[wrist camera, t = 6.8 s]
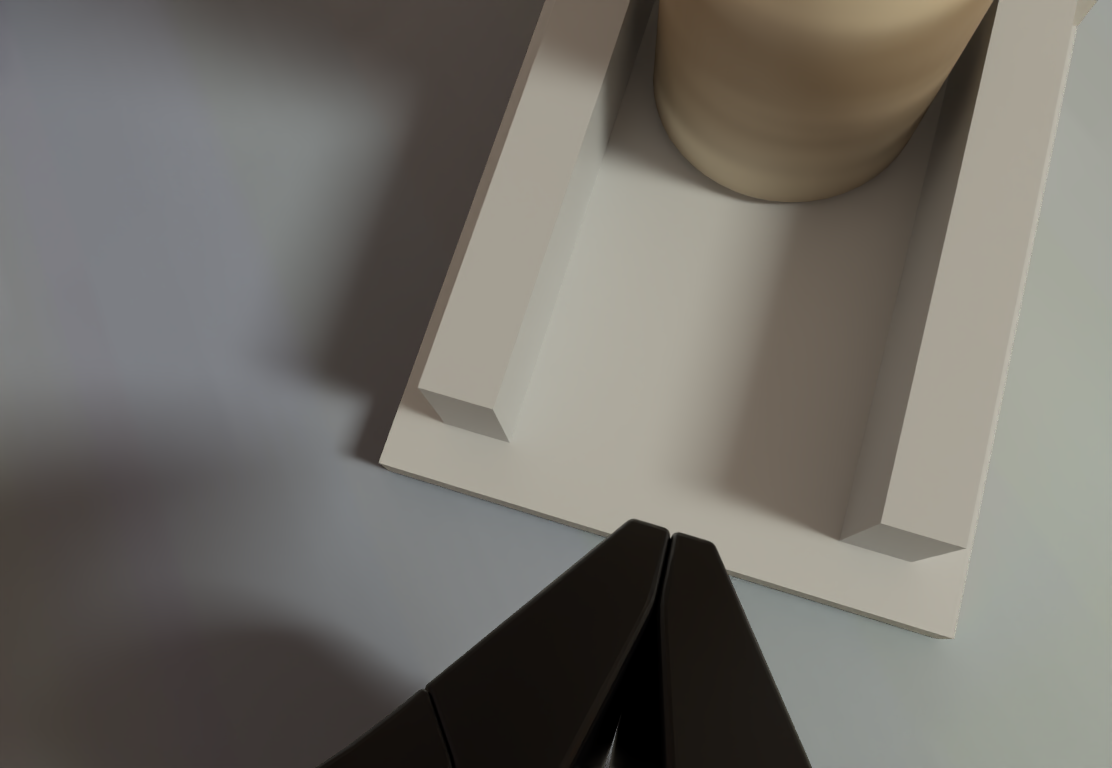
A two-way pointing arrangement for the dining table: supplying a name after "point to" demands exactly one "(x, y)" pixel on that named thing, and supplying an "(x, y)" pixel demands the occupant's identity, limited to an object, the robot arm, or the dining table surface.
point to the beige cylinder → (802, 86)
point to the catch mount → (742, 322)
